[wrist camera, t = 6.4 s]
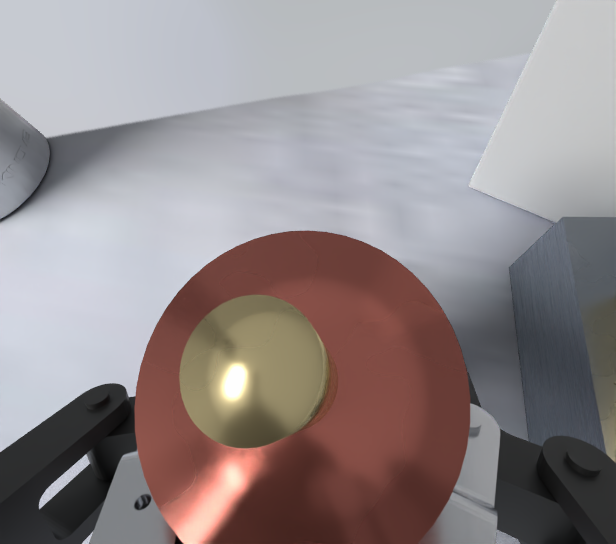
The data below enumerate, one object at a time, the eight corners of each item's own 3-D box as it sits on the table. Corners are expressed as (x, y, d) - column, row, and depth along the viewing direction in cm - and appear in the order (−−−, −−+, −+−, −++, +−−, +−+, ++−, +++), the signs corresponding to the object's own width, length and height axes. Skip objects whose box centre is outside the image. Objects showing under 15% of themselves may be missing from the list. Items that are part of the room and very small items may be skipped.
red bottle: (283, 448, 16) (-92, 652, 3) (295, 340, 17) (101, 156, 4) (394, 463, 15) (606, 870, 2) (395, 347, 16) (509, 146, 4)
